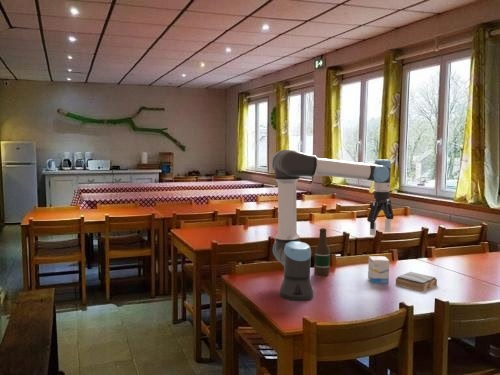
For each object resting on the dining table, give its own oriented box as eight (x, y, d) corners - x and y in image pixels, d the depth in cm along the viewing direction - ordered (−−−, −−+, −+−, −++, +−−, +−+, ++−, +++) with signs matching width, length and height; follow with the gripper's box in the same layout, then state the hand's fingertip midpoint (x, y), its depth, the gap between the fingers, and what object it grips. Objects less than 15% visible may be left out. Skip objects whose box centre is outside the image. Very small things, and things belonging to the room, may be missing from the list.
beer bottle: (328, 272, 247) (330, 227, 245) (329, 276, 240) (331, 230, 237) (313, 271, 248) (315, 227, 246) (314, 275, 240) (315, 229, 238)
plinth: (422, 291, 217) (423, 283, 217) (395, 284, 227) (395, 276, 227) (436, 285, 227) (437, 277, 226) (409, 279, 237) (410, 271, 237)
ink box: (389, 283, 229) (390, 260, 228) (371, 283, 229) (372, 260, 228) (384, 278, 237) (385, 256, 236) (367, 278, 238) (368, 255, 236)
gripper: (374, 193, 217) (373, 238, 220) (401, 189, 235) (400, 231, 237) (360, 191, 223) (359, 235, 225) (388, 188, 240) (386, 229, 242)
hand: (380, 233), depth 231 cm, fingers open, 13 cm apart
